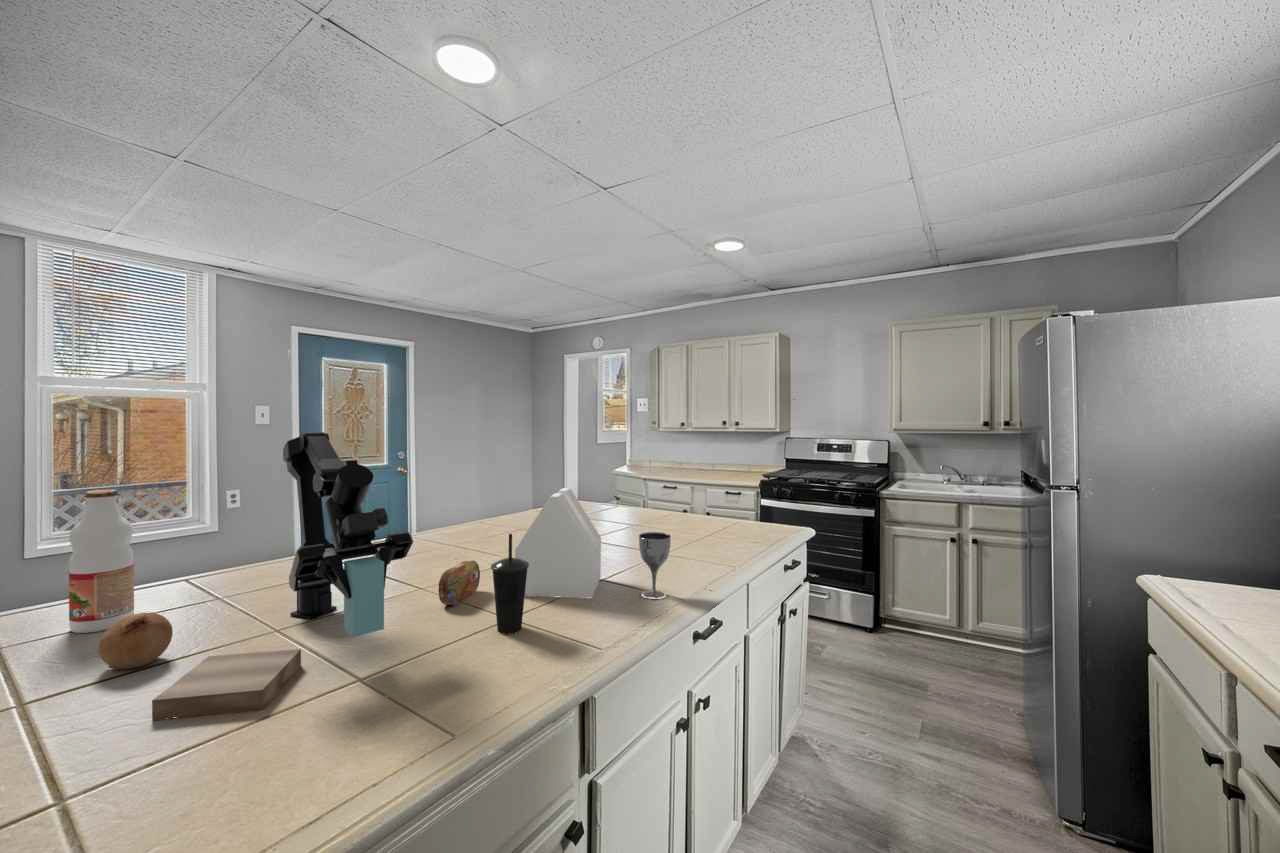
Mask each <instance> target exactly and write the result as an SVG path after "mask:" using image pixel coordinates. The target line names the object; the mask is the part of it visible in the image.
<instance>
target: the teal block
mask: <svg viewBox="0 0 1280 853" xmlns="http://www.w3.org/2000/svg"><path fill="white" fill-rule="evenodd" d="M343 568H344V571H345V574H346V577H347V580H348V583H349V586H350V590H351V598H350V599H347V598H346V597H345V596H344V595H343V629H344V630H345V631H346V633H348V634H349V636H351V637H352V638H356V637H360V636H363V635H367V634H371V633H375V632H378V631H379V632H380V631H381V630H382V631H383V630H384V629H385V589H384V561H382V560H380V559H379V558H377V557H375V556H374V555H371V556H365V557H359V558H353V559H347V560H343Z"/></svg>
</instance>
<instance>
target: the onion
mask: <svg viewBox="0 0 1280 853" xmlns="http://www.w3.org/2000/svg"><path fill="white" fill-rule="evenodd" d="M173 633H174V632H173V626H172V623H171V622H170V621H169V620H168V618H166V617H165V616H164V615H161V614H158V613H155V612H140V613H134V615H130V616H128V617H125V618H123V619H121V620H119V621H117V622H116V623H115V624H113V625H112V626H111V627H110V628H109V629H107V630H105V632H103V634H102V636H101V638H100V640H99V643H98V654H99V656H100V659H101V660H102V661H103V662H104V663H105V664H106V665H108V666H107V668H108V669H113V670H115V669H116V670H117V669H118V670H132V669H133V670H134V669H137V668H141V667H143V666H147V665H149V664H151V663H153V662H155V660H156V659H158V658H159V657H160V656H161V655H162V654H164V652H165V651H166V650H167V649H168V646H170V643H171V642H172V639H173Z"/></svg>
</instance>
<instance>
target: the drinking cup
mask: <svg viewBox="0 0 1280 853" xmlns="http://www.w3.org/2000/svg"><path fill="white" fill-rule="evenodd" d="M528 567H529V563H528V562H527V561H524V560H521V559H518V558H515V557H513V533H508V557H507V558H506V557H505V558H503V559H502V558H501V559H499V560H498V561H495V562H493V563H492V564H491V566H490V568H491V570H492V581H493V591H494V603H495V605H494V606H495V616H496V618H495V619H496V626H497V628H496V629H497V632H498V633H499V632H500V633H499V634H501V633H505V634H504V635H512V633H513V634H516V633H515V632H517V633H519V632H520V631H521V630H522V625H523V624H522V623H523V616H524V605H525V597H526V596H525V587H526V577H527V568H528ZM518 631H519V632H518ZM509 633H511V634H509Z"/></svg>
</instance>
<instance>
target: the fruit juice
mask: <svg viewBox="0 0 1280 853" xmlns="http://www.w3.org/2000/svg"><path fill="white" fill-rule="evenodd" d="M83 494H84V495H83V497H84V500H85V501H86V507H85V511H84V513H83V515H82V517H81V519H80V520H79V522H77V523H76V524H75V525H74V526H73V528H72V529H71V530H70V532H69V543H70V545H71V547H72V553H71V555H70V557H69V561H68V627H69V630H70V631H71V632H72V633H75V634H76V633H77V634H88V633H89V632H90V633H95V632H102V631H107V630H108V629H109V628H110V627H111V626H112V625H113V624H115V623H116V622H117V621H119V620H121V619H123V618H125V617H128V616H130V615H134V614H135V577H134V576H135V575H134V574H135V570H134V568H135V559H134V557H135V556H134V551H133V549H132V547H131V545H130V544H131V541H132V540H131V539H132V537H133V532H134V531H133V526H132V524H131V522H130V521H128V520H127V519H126V518H125V517H124V516H123V515H122V513H121V512H120V509H119V506H118V503H117V499H118V498H119V496H120V495H119V490H118V489H97V490H96V489H95V490H89V491H85V492H84V493H83ZM101 630H102V631H101Z"/></svg>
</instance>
